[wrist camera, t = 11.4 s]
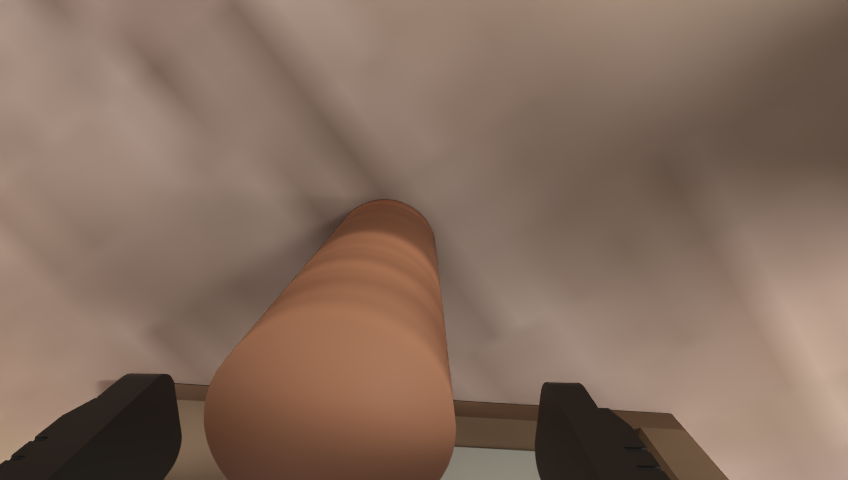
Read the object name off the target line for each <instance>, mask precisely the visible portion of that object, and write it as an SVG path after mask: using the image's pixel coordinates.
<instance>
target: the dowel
mask: <svg viewBox="0 0 848 480" xmlns="http://www.w3.org/2000/svg"><path fill="white" fill-rule="evenodd" d="M204 429H205V435H206V440H207V443H208V446H209V449H210V452H211V454H212V456H213V458H214V460H215V462H216V464H217V465H218V467H219V468H220V470H221V471H222V473H223V474H224V476H225V477H226V478H227V479H228V480H440V479H441V478H442V476H443V474H444V472H445V471H446V469H447V467H448V465H449V462H450V460H451V457H452V454H453V450H454V445H455V439H456V422H455V413H454V404H453V396H452V387H451V378H450V369H449V361H448V352H447V343H446V334H445V325H444V317H443V308H442V299H441V290H440V282H439V273H438V264H437V255H436V247H435V239H434V235H433V232H432V230H431V227H430V226H429V224H428V222H427V221H426V219H425V218H424V217H423V216H422V215H421V214H420V213H419V212H418V211H417V210H415V209H414V208H412V207H411V206H409V205H407V204H405V203H402V202H399V201H395V200H383V199H382V200H374V201H370V202H367V203H365V204H362V205H361V206H359V207H357V208H356V209H355V210H353V211H352V212H351V213H350V214H349V215H348V216H347V217H346V218H345V219H344V221H343V222H342V223H341V224H340V225H339V226H338V228H337V229H336V230H335V231H334V232H333V234H332V235H331V236H330V237H329V238H328V239H327V241H326V242H325V243H324V244H323V245H322V246H321V248H320V249H319V250H318V251H317V252H316V254H315V255H314V256H313V257H312V258H311V259H310V261H309V262H308V263H307V264H306V265H305V266H304V268H303V269H302V270H301V271H300V272H299V273H298V275H297V276H296V277H295V278H294V279H293V281H292V282H291V283H290V284H289V285H288V286H287V288H286V289H285V290H284V291H283V292H282V293H281V295H280V296H279V297H278V298H277V299H276V301H275V302H274V303H273V304H272V305H271V306H270V308H269V309H268V310H267V311H266V312H265V313H264V315H263V316H262V317H261V318H260V319H259V321H258V322H257V323H256V324H255V325H254V326H253V328H252V329H251V330H250V331H249V332H248V333H247V335H246V336H245V337H244V338H243V339H242V340H241V342H240V343H239V344H238V345H237V346H236V348H235V349H234V350H233V351H232V352H231V353H230V355H229V356H228V357H227V358H226V359H225V361H224V362H223V363H222V365H221V366H220V367H219V369H218V370H217V372H216V374H215V376H214V378H213V379H212V381H211V383H210V386H209V389H208V392H207V395H206V399H205V406H204Z"/></svg>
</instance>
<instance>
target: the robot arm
mask: <svg viewBox="0 0 848 480" xmlns="http://www.w3.org/2000/svg"><path fill="white" fill-rule="evenodd" d="M181 442H182V432H181V426H180V419H179V412H178V405H177V398H176V392H175V385H174V381H173V379H172V377H171V376H170V375H168V374H127V375H125V376H123V377H122V378H120V379H119V380H118V381H117V382H115V383H114V384H113V385H112V386H111V387H109V388H108V389H107V390H106V391H104V392H103V393H102V394H101V395H100V396H98V397H97V398H94V399H93V400H91V401H89V402H87V403H85V404H83V405H81V406H79V407H77V408H76V409H74V410H72V411H70V412H68V413H66V414H64V415H62V416H61V417H60V418H59V419H57V420H56V421H55V422H53V423H52V424H51V425H50V426H48V427H47V428H46V429H45V430H43V431H42V432H41V433H39V434H38V435H37V436H36V437H35V440H34V441H29V442H28V443H27V444H25V445H24V446H23V447H22V448H20V449H19V450H18V451H17V452H15V453H14V454H13V455H12V457H11V459H10V460H5V461H4V462H3V463H1V464H0V480H164V478H165V477H166V476H167V474H168V473H169V471H170V470H171V469H172V467H173V466H174V464H175V462H176V460H177V457H178V455H179V452H180V448H181ZM535 459H536V465H537V470H538V473H539V476H540V479H541V480H670V478H669V477H668V476H667V474H666V473H665V471H661V466H660V465H659V463H658V462H657V461H656V459H655V458H654V457H653V455H652V454H651V452H648V451H647V447H646V446H645V444H644V443H643V442H642V440H641V439H640V438H639V436H638V435H637V433H636V432H635V431H634V429H633V428H632V427H631V426H630V425H629V424H628V423H626V422H625V421H624V420H623V419H621V418H620V417H619V416H618V415H616V414H615V413H614V412H612V411H611V410H610V409H609V408H598V407H597V406H596V404H595V403H594V401H593V400H592V398H591V397H590V395H589V394H588V392H587V391H586V389H585V388H584V386H583V385H582V384H580V383H556V382H545V383H544V384H543V386H542V389H541V395H540V403H539V412H538V420H537V428H536V436H535Z"/></svg>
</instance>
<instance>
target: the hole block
mask: <svg viewBox="0 0 848 480" xmlns="http://www.w3.org/2000/svg"><path fill="white" fill-rule="evenodd" d="M440 480H541V479H540V476H539V473H538V470H537V465H536V459H535V451H521V450H504V449H487V448H469V447H454V450H453V454H452V457H451V460H450V462H449V465H448V467H447V469H446V471H445V472H444V474H443V476H442V478H441V479H440Z"/></svg>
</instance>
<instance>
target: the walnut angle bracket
mask: <svg viewBox="0 0 848 480" xmlns="http://www.w3.org/2000/svg"><path fill="white" fill-rule="evenodd" d="M174 385H175V392H176V398H177V405H178V412H179V419H180V426H181V432H182V442H181V448H180V452H179V455H178V457H177V460H176V462H175V464H174V466H173V467H172V469H171V470H170V471H169V473H168V474H167V476H166V477H165V478H164V480H228V479H227V478H226V477H225V476H224V474H223V473H222V471H221V470H220V468H219V467H218V465H217V464H216V462H215V460H214V458H213V456H212V454H211V452H210V449H209V446H208V443H207V440H206V435H205V429H204V406H205V399H206V395H207V392H208V389H209V386H203V385H187V384H174ZM453 404H454V413H455V422H456V439H455V445H454V447H469V448H487V449H504V450H521V451H535V436H536V428H537V420H538V412H539V406H532V405H516V404H500V403H483V402H467V401H453ZM611 411H612V412H614V413H615V414H616V415H618V416H619V417H620V418H621V419H623V420H624V421H625V422H626V423H628V424H629V425H630V426H631V427H632V428H633V429H634V431H635V432H636V433H637V435H638V436H639V438H640V439H641V440H642V442H643V443H644V444H645V446H646V447H647V451H648V452H651V454H652V455H653V457H654V458H655V459H656V461H657V462H658V463H659V465H660V466H661V471H665V473H666V474H667V476H668V477H669V478H670V480H729V479H728V478H727V477H726V476H725V475H724V474H723V472H722V471H721V470H720V469H719V468H718V467H717V466H716V464H715V463H714V462H713V461H712V460H711V459H710V458H709V456H708V455H707V454H706V453H705V452H704V451H703V449H702V448H701V447H700V446H699V445H698V444H697V443H696V441H695V440H694V439H693V438H692V437H691V436H690V435H689V433H688V432H687V431H686V430H685V429H684V428H683V427H682V425H681V424H680V423H679V422H678V421H677V420H676V419H675V417H674V416H673V415H672V414H664V413H648V412H631V411H615V410H611Z"/></svg>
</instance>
